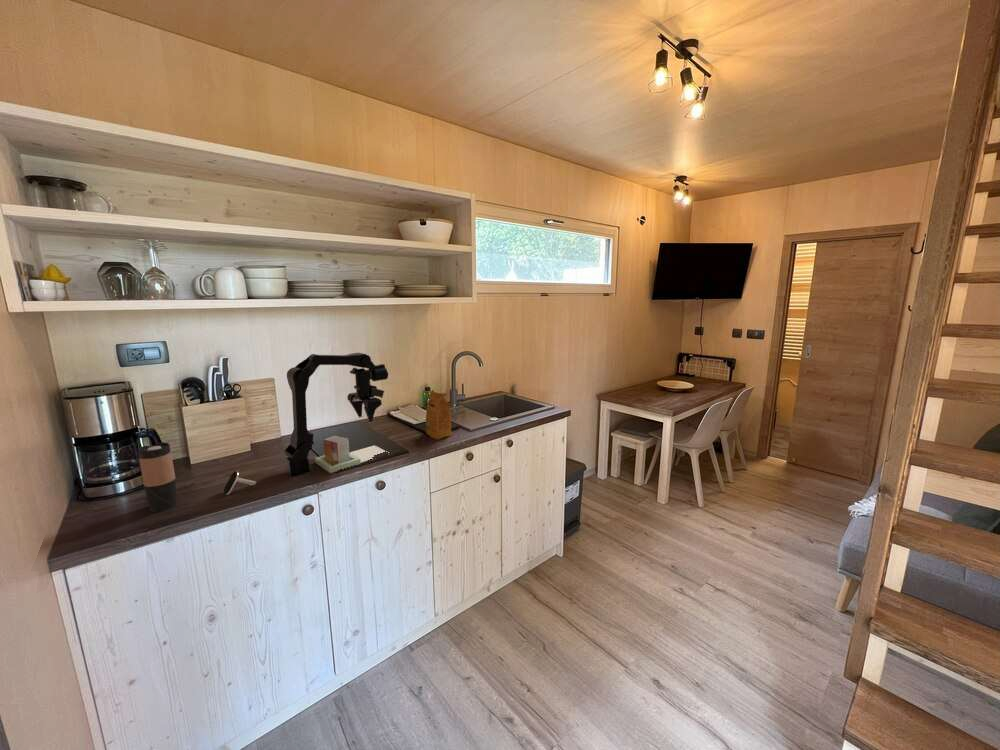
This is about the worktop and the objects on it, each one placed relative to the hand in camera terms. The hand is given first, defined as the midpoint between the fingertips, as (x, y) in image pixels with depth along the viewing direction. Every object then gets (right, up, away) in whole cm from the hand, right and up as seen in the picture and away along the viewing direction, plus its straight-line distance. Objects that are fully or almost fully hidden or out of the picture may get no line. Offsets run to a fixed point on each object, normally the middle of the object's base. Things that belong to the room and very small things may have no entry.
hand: (365, 419), depth 168 cm
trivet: (+1, -15, 0) cm, 15 cm away
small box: (-8, -17, -9) cm, 21 cm away
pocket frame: (-8, -17, -9) cm, 21 cm away
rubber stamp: (-34, -23, -32) cm, 52 cm away
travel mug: (-50, -23, -42) cm, 69 cm away
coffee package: (+27, -11, +23) cm, 38 cm away
